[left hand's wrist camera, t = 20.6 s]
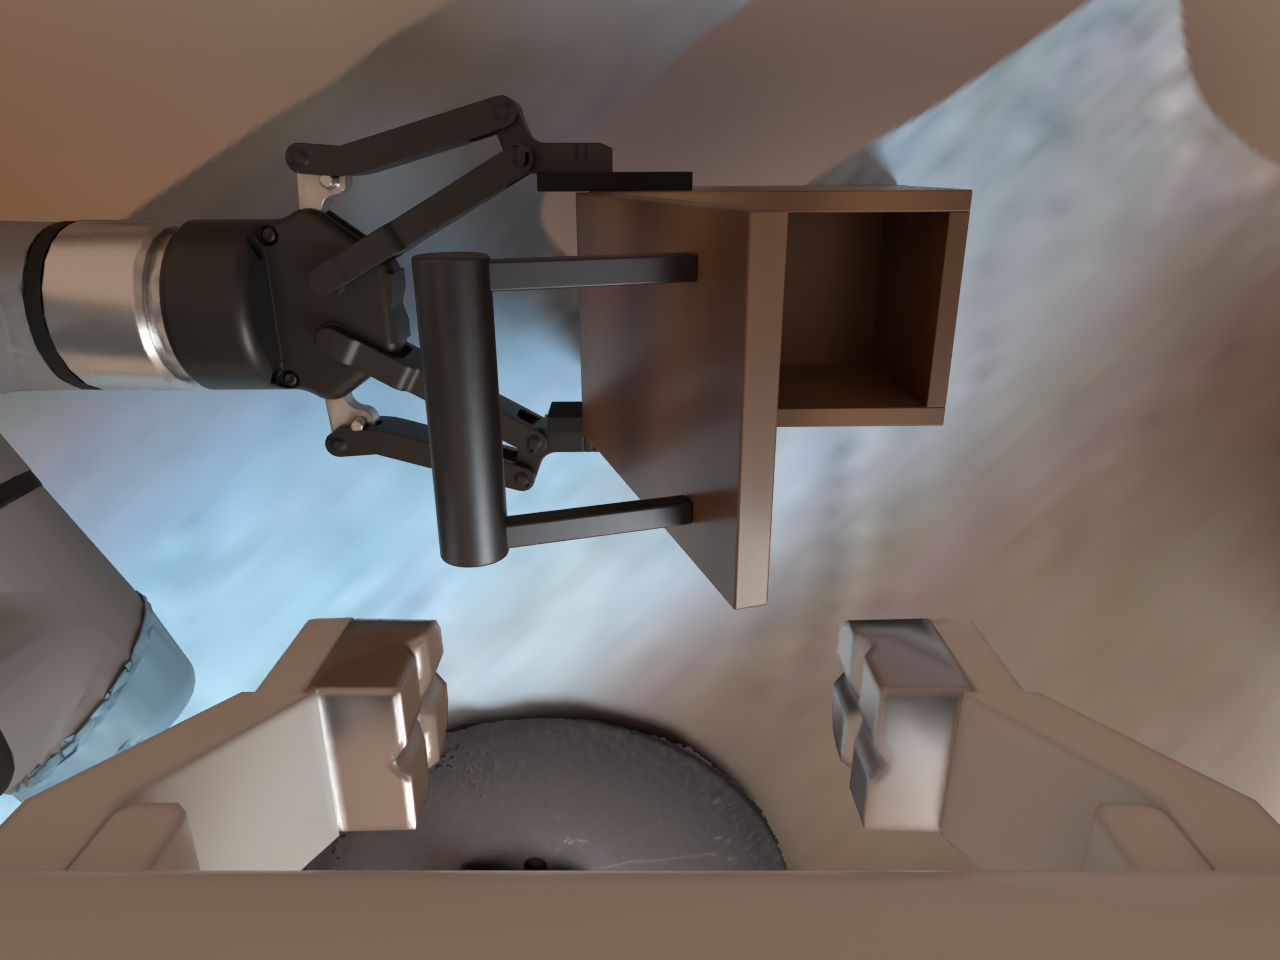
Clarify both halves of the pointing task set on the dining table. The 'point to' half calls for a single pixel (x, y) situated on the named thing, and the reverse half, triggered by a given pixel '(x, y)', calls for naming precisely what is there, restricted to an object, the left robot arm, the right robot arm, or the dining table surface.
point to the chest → (862, 298)
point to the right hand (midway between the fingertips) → (687, 304)
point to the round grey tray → (568, 807)
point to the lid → (625, 382)
